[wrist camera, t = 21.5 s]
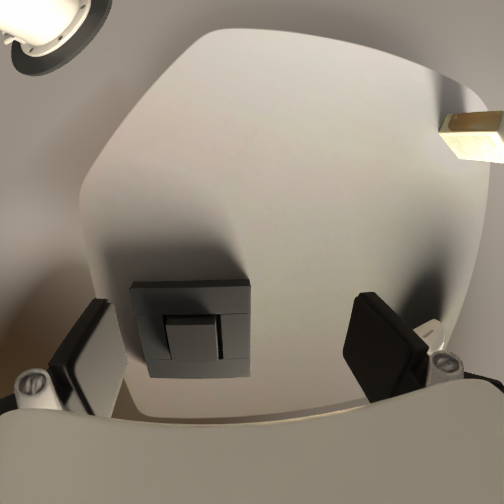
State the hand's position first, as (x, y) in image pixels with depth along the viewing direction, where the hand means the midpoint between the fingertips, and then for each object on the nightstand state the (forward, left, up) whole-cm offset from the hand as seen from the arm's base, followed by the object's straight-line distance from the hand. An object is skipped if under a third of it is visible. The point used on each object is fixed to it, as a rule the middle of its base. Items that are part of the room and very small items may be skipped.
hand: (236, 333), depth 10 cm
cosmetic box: (+34, +13, -24) cm, 44 cm away
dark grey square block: (-5, -16, -24) cm, 29 cm away
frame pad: (-5, -16, -24) cm, 29 cm away
